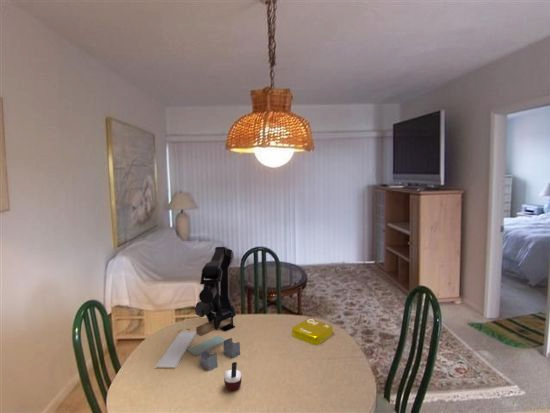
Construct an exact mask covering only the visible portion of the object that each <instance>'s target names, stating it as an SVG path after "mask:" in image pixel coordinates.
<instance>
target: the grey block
mask: <svg viewBox="0 0 550 413" xmlns="http://www.w3.org/2000/svg"><path fill="white" fill-rule="evenodd" d="M223 354H224V355H226V356H227V355H228V356H227V357H229V356H230V357H229V358H231V359H232V358H233V359H235V358H238V357H239V356H240V355H241V342H240V341H237V342H234V341H233V338H232V337H229V338H227V339H226V340H225V341H224V343H223ZM238 355H239V356H238Z"/></svg>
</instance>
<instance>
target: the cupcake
mask: <svg viewBox="0 0 550 413" xmlns="http://www.w3.org/2000/svg"><path fill="white" fill-rule="evenodd" d="M237 366H238V362H237V361H233V362H232V363H231V369H228V370H225V371H224V374H223V376H224V379H223V380H224V382H223V383H224V385H225V387H226V388H227V390H229V391H234V390H235V391H236V390H238V389H240V387H241V383H242V372H241V371H239V370H238V368H237Z"/></svg>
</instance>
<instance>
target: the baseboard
mask: <svg viewBox="0 0 550 413" xmlns="http://www.w3.org/2000/svg"><path fill="white" fill-rule="evenodd" d="M196 336H197V334H196V331H189V328H186V329H185V330H181V332H178V335H177V336H176V337H175V338H174V340H173V341H172V343H171V344H170V345H169V347H168V348H167V350H166V351H165V352H164V354H163V356H162V357H161V358H160V359H159V361H158V362H157V363H156V365H154V368H153V369H154V370H156V369H157V370H175V369H176V368H177V366H178V365H179V361H181V360H182V359H183V356H184V355H185V354H186V352H187V349H188V348H190V346H191V344H192V342H193V340H194V339H195V338H196Z"/></svg>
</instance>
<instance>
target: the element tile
mask: <svg viewBox="0 0 550 413" xmlns="http://www.w3.org/2000/svg"><path fill="white" fill-rule="evenodd" d="M291 331H292V332H291V334H292V335H291V336H292V338H294V339H297V340H300V341H303V342H305V343H308V344H311V345H313V346H319V345H320V344H322V343H323V342H324V341H326V340H328V339H329V338H331V337H332V336H333V335H334V327H333V325H331V324H328V323H326V322H324V321H320V320H316V319H313V318H306V319H305V320H303V321H300V322H298V323H297V324H296V325H294V326H293V327H292V330H291Z"/></svg>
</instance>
